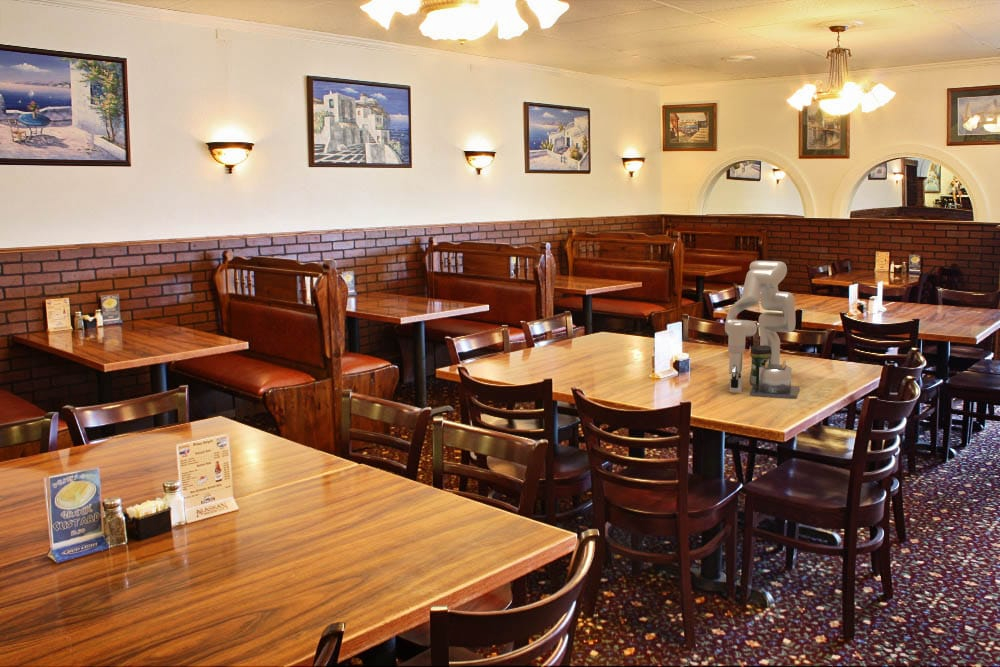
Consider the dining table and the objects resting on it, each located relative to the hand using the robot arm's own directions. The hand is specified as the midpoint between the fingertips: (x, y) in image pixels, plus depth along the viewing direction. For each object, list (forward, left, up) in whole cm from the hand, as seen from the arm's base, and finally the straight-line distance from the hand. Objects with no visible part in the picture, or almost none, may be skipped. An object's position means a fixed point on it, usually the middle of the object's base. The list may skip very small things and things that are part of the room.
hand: (735, 385), depth 405 cm
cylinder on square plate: (-2, +17, -3) cm, 17 cm away
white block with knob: (0, 0, -3) cm, 3 cm away
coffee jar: (-19, +9, -3) cm, 22 cm away
